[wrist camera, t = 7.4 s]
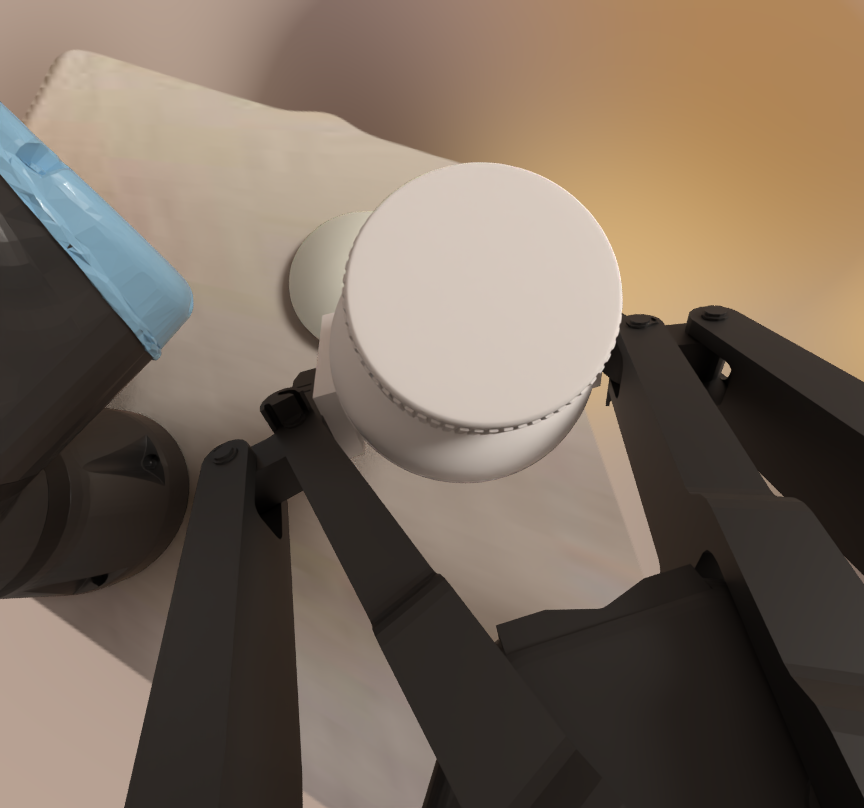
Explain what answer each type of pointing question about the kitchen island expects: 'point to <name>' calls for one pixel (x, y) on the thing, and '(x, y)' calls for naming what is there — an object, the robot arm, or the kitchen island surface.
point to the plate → (323, 268)
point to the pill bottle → (473, 321)
